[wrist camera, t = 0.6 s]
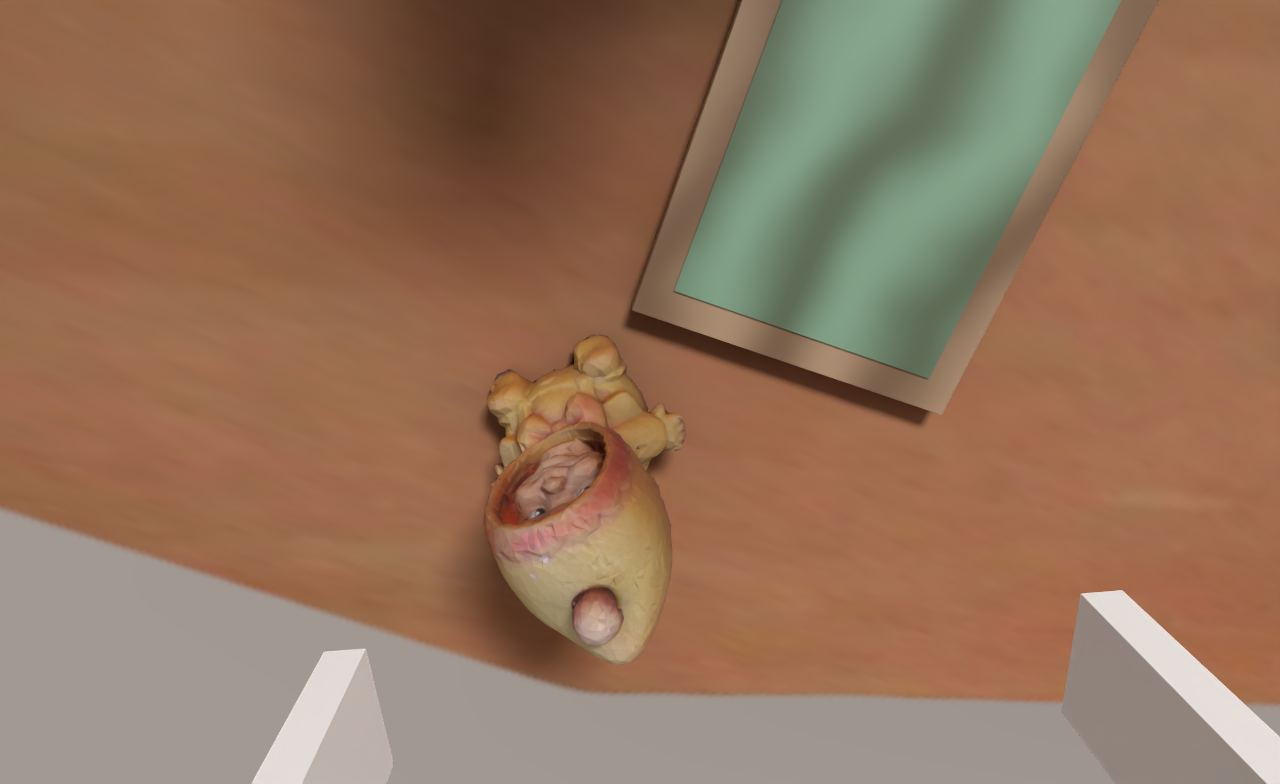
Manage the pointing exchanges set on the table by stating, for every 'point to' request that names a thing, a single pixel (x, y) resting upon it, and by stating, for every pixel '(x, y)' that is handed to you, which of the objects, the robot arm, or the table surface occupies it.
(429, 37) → the table surface
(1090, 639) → the robot arm
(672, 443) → the figurine
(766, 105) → the green framed board
